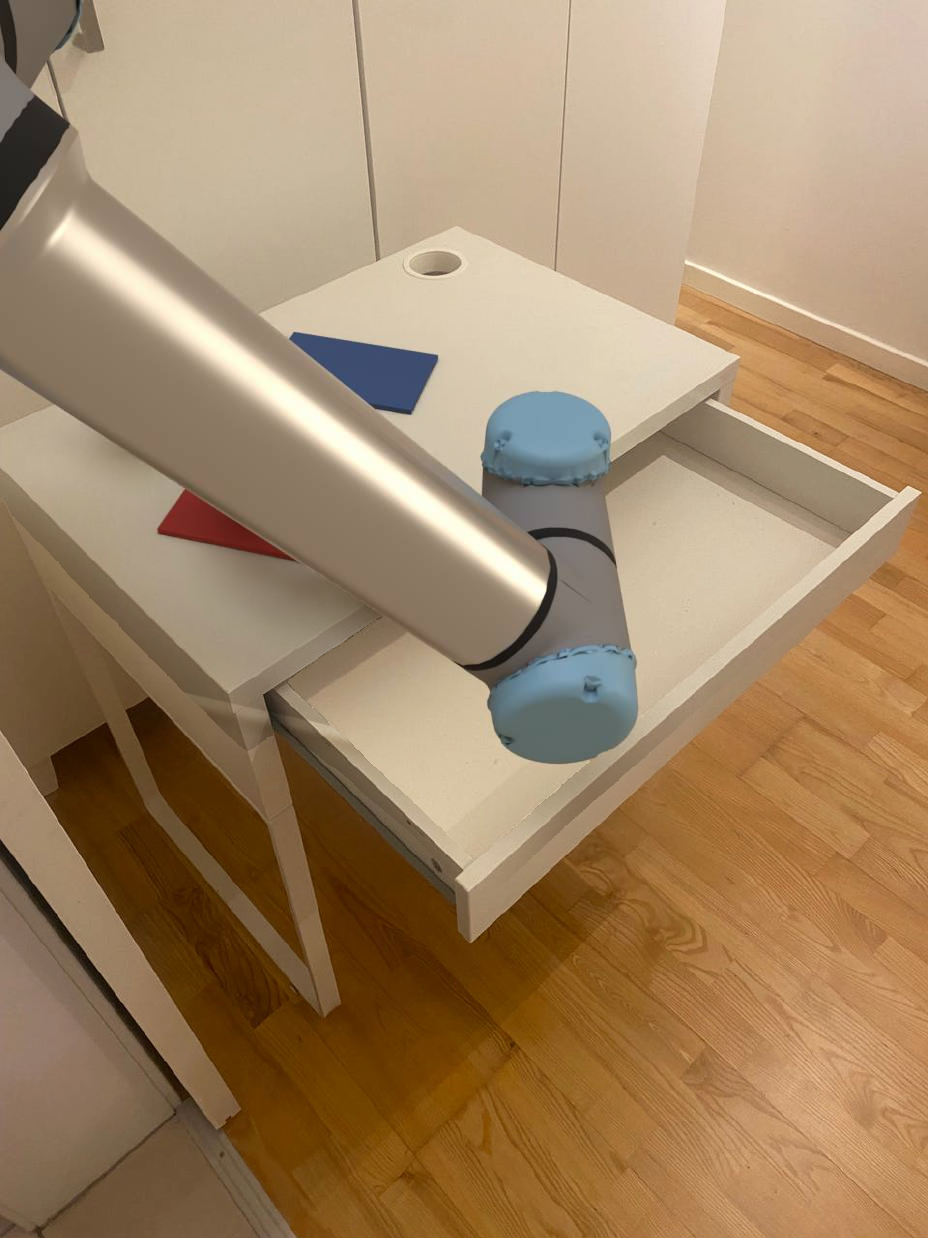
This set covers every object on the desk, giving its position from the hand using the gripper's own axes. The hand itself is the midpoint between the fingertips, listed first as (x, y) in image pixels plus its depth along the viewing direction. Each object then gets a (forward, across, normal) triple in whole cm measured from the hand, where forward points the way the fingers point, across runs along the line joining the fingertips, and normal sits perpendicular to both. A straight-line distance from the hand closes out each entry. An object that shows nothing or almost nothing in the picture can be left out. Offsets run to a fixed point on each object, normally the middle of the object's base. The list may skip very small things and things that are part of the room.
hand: (213, 416), depth 80 cm
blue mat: (+4, +20, -8) cm, 22 cm away
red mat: (-5, 0, -8) cm, 9 cm away
